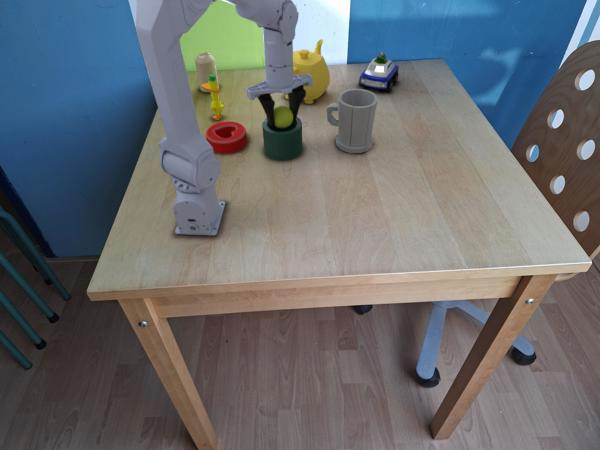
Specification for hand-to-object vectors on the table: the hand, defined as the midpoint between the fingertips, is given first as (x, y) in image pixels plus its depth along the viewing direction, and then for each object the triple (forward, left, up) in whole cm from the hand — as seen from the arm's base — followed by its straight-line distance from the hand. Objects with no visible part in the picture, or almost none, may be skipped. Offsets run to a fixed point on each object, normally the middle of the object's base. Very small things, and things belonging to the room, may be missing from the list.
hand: (282, 121), depth 96 cm
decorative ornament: (+3, +14, -8) cm, 16 cm away
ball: (0, 0, +1) cm, 1 cm away
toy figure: (+14, +19, -8) cm, 25 cm away
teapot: (+28, -4, -8) cm, 30 cm away
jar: (0, 0, -8) cm, 8 cm away
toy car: (+35, -25, -8) cm, 43 cm away
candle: (+31, +25, -8) cm, 40 cm away
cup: (+3, -16, -8) cm, 18 cm away
